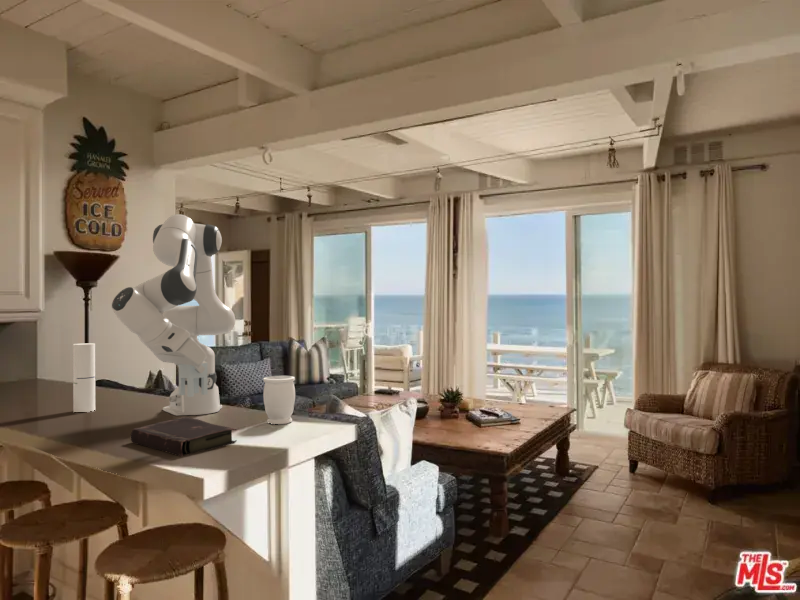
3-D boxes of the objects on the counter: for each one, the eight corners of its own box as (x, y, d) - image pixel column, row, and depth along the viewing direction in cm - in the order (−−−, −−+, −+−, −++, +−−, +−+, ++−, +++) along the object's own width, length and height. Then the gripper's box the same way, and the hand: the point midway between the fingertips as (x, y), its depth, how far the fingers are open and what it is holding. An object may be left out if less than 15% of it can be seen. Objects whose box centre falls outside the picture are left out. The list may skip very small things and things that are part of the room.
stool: (178, 394, 161) (178, 362, 161) (196, 392, 165) (196, 360, 165) (189, 396, 157) (189, 363, 157) (207, 394, 162) (207, 361, 162)
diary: (180, 459, 147) (179, 440, 147) (130, 445, 162) (130, 428, 162) (239, 443, 162) (238, 426, 162) (188, 432, 177) (188, 416, 177)
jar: (287, 426, 182) (287, 379, 182) (258, 425, 184) (257, 379, 184) (300, 419, 193) (299, 375, 193) (271, 418, 195) (271, 375, 195)
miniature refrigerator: (88, 412, 206) (88, 344, 206) (69, 413, 206) (68, 344, 206) (99, 409, 213) (98, 343, 214) (80, 409, 214) (80, 343, 214)
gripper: (135, 345, 159) (168, 376, 166) (174, 348, 146) (208, 381, 154) (151, 328, 162) (182, 359, 170) (190, 330, 150) (222, 364, 157)
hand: (195, 370), depth 162 cm, fingers closed on stool, 6 cm apart
